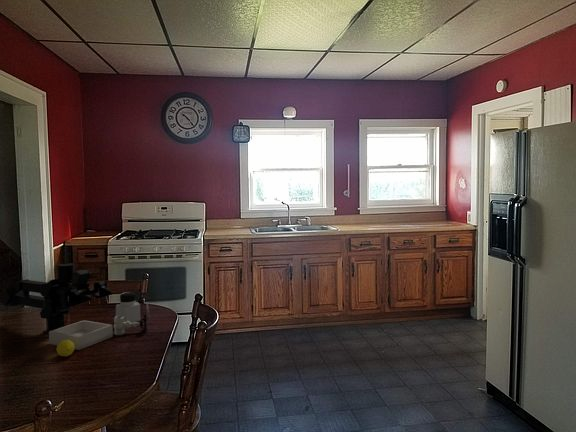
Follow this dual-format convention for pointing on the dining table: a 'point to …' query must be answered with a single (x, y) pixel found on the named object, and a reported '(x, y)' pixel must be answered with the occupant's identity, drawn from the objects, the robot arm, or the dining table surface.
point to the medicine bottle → (128, 307)
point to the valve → (127, 324)
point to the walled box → (81, 334)
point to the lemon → (65, 348)
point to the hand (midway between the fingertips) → (101, 295)
